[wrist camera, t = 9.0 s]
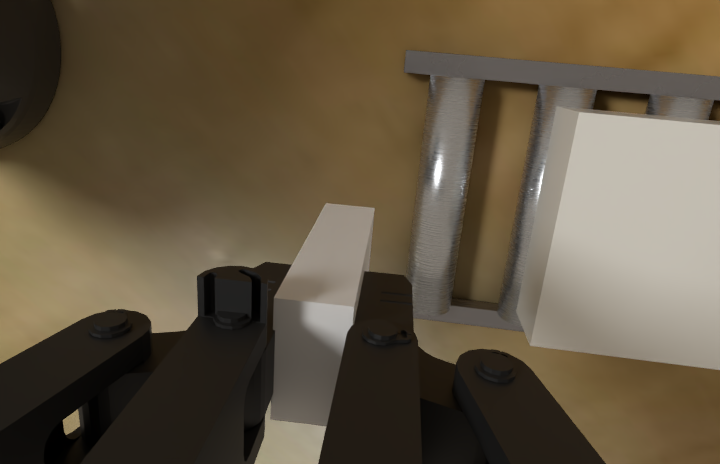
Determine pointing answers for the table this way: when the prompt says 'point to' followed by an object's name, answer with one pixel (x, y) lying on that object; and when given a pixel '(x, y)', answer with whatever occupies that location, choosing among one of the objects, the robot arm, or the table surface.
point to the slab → (627, 239)
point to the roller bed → (455, 155)
